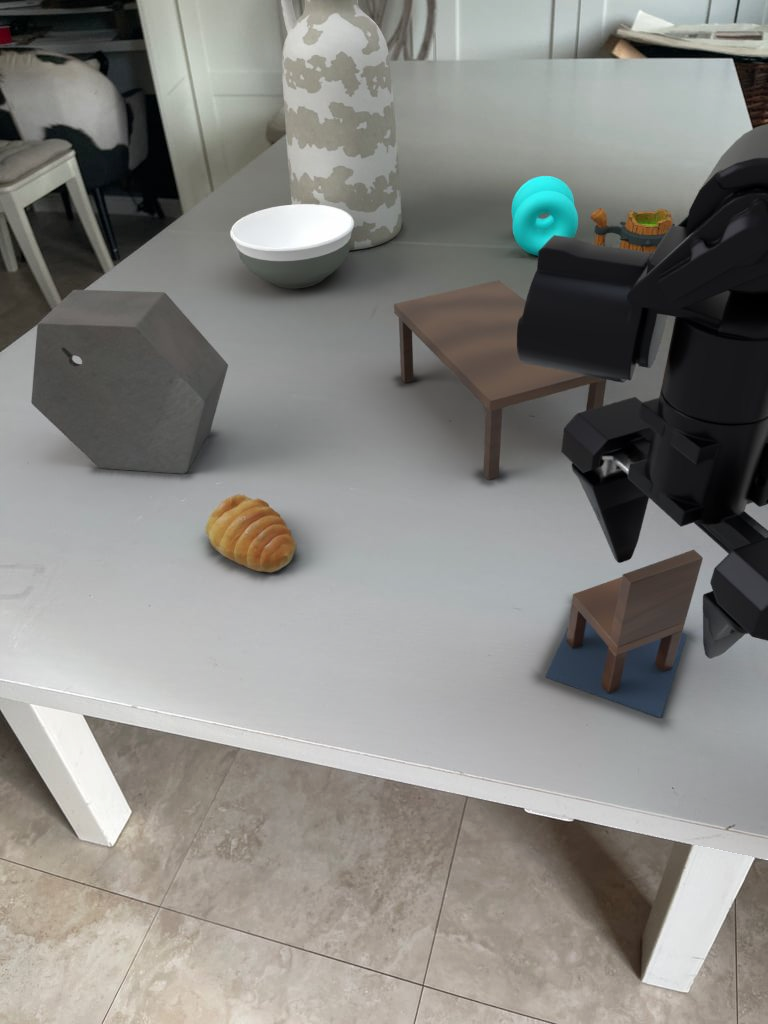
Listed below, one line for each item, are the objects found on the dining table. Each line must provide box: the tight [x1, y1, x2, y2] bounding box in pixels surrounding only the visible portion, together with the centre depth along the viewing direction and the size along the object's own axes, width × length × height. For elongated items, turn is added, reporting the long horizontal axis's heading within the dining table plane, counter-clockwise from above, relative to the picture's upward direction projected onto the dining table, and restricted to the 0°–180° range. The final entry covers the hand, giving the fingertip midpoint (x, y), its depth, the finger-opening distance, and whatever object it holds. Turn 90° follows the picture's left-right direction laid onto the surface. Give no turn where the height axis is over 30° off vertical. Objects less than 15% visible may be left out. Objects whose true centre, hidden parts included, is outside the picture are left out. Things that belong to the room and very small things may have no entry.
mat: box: [545, 621, 688, 719], centre depth 65 cm, size 9×9×1 cm
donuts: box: [511, 175, 579, 257], centre depth 128 cm, size 10×10×10 cm
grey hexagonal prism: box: [30, 289, 229, 475], centre depth 86 cm, size 17×8×21 cm
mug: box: [590, 207, 676, 253], centre depth 113 cm, size 13×10×12 cm
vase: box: [280, 0, 403, 251], centre depth 129 cm, size 20×19×38 cm
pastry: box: [205, 494, 297, 573], centre depth 76 cm, size 9×7×4 cm
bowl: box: [229, 204, 354, 289], centre depth 124 cm, size 19×19×8 cm
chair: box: [566, 549, 704, 694], centre depth 61 cm, size 6×6×12 cm
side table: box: [393, 279, 607, 481], centre depth 91 cm, size 24×14×10 cm, turn 22°
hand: (665, 604), depth 52 cm, fingers open, 9 cm apart
